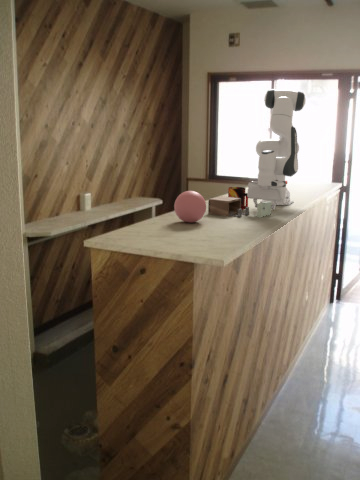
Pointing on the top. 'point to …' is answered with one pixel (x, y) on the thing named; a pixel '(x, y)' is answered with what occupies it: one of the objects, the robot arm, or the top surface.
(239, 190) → the mug
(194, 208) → the balloon
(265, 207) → the door
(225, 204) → the cabinet
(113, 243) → the top surface
